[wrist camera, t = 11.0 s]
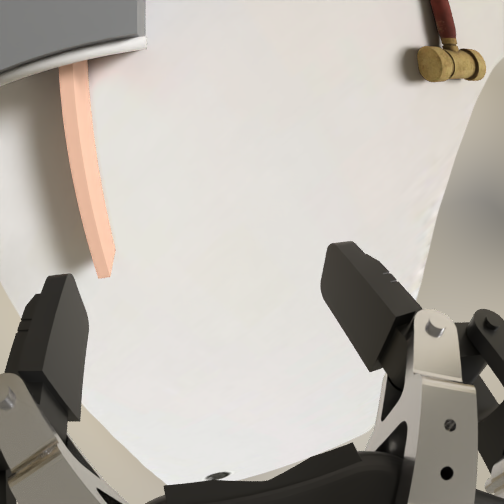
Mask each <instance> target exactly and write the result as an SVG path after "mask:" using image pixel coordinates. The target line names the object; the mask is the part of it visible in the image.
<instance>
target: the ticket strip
mask: <svg viewBox="0 0 504 504" xmlns="http://www.w3.org/2000/svg"><path fill="white" fill-rule="evenodd" d="M59 82H60V94H61V105H62V114H63V122H64V130H65V137H66V144H67V150H68V156H69V162H70V167H71V173H72V178H73V183H74V188H75V193H76V197H77V202H78V206H79V210H80V215H81V219H82V223H83V227H84V230H85V234H86V238H87V242H88V245H89V249H90V252H91V256H92V259H93V262H94V266H95V269H96V272H97V275H98V279H99V278H106V277H110V275H111V270H112V265H113V260H114V255H115V251H116V250H115V245H114V241H113V237H112V233H111V228H110V224H109V219H108V215H107V210H106V205H105V200H104V195H103V190H102V184H101V179H100V173H99V167H98V161H97V154H96V147H95V140H94V132H93V124H92V115H91V105H90V94H89V80H88V62H87V60H84V61H80V62H76V63H72V64H68V65H64V66H60V67H59Z"/></svg>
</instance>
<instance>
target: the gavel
mask: <svg viewBox="0 0 504 504" xmlns="http://www.w3.org/2000/svg"><path fill="white" fill-rule="evenodd" d="M430 2H431V6H432V10H433V13H434V17H435V21H436V26H437V30H438V32H439V35H440V37H441V41H442V44H443V46H442V47H443V49H441V48H440V47H433V46H424V47H422V48H421V49H419V51H418V54H417V59H418V66H419V71H420V73H421V75H422V76H423V77H424V78H425V79H426V80H428V81H430V82H441V81H446V80H447V79H460V78H464V79H465V80H468V81H478V80H481V79H482V78H483V77H484V75H485V73H486V65H485V61H484V59H483V57H482V56H481V55H480V54H479V53H478V52H477V51H475V50H472V49H460V50H458V46H456V44H457V41H456V30H455V25H454V21H453V17H452V13H451V9H450V5H449V2H448V0H430Z"/></svg>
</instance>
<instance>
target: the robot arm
mask: <svg viewBox="0 0 504 504" xmlns="http://www.w3.org/2000/svg"><path fill="white" fill-rule="evenodd" d="M321 293H322V296H323V299H324V301H325V302H326V304H327V305H328V307H329V308H330V310H331V311H332V313H333V315H334V316H335V318H336V319H337V321H338V322H339V324H340V325H341V327H342V329H343V330H344V332H345V333H346V335H347V337H348V338H349V340H350V341H351V343H352V344H353V346H354V348H355V349H356V351H357V352H358V354H359V356H360V357H361V359H362V360H363V362H364V364H365V365H366V367H367V369H368V370H369V372H372V371H375V370H378V369H381V368H384V370H385V372H386V373H385V375H384V377H383V381H382V388H381V394H380V400H379V406H378V412H377V417H376V422H375V427H374V430H373V432H372V435H371V437H370V439H369V441H368V443H367V446H366V449H365V451H357V450H356V448H355V446H354V444H353V443H350V444H347V445H345V446H342V447H339V448H336V449H334V450H331V451H328V452H325V453H322V454H319V455H316V456H312V457H310V458H308V459H307V460H305V461H303V462H302V463H300V464H298V465H297V466H295V467H293V468H291V469H289V470H288V471H286V472H284V473H282V474H280V475H278V476H276V477H274V478H273V479H270V480H268V481H253V482H252V481H223V480H209V481H202V482H194V483H186V484H176V485H165V486H164V491H165V495H163V496H161V497H158V498H155V499H153V500H151V501H149V502H147V503H146V504H504V401H503V402H502V403H501V404H500V405H499V404H498V403H497V401H496V400H495V398H494V396H493V395H492V393H491V392H490V390H489V389H488V387H487V386H486V384H485V383H484V382H483V380H482V379H481V377H480V376H479V374H480V373H481V372H482V371H483V369H484V368H485V367H486V365H487V364H488V365H489V366H490V368H491V369H492V371H493V372H494V373H495V375H496V376H497V378H498V379H499V380H500V382H501V383H502V385H503V386H504V320H503V319H502V318H501V317H500V316H499V315H498V314H496V313H494V312H492V311H490V310H487V309H480V310H477V311H476V312H475V314H474V315H473V317H472V319H471V321H470V322H469V323H454V322H453V321H452V320H451V318H449V317H448V316H447V315H446V314H444V313H442V312H440V311H438V310H435V309H422V308H421V307H420V305H419V304H418V303H417V302H416V301H415V300H414V298H413V297H412V296H411V295H410V294H409V293H408V292H407V291H406V290H405V288H404V287H403V286H402V285H401V284H400V283H399V282H397V281H396V279H395V277H394V276H393V275H392V274H389V271H388V270H387V269H386V268H385V267H384V266H383V265H382V264H381V263H380V262H379V261H378V260H376V259H374V258H373V257H371V256H369V255H368V254H365V253H364V252H363V251H362V250H361V249H360V248H359V247H358V246H357V245H356V244H355V243H354V242H352V241H348V242H340V243H332V244H330V245H329V246H328V248H327V252H326V258H325V263H324V268H323V273H322V278H321ZM88 333H89V322H88V316H87V312H86V310H85V307H84V304H83V302H82V299H81V296H80V294H79V291H78V288H77V285H76V282H75V279H74V277H73V275H72V274H61V275H53V276H48V277H47V279H46V281H45V284H44V286H43V289H42V292H41V294H35V296H34V297H33V298H32V299H31V300H30V302H29V303H28V304H27V305H26V307H25V310H24V313H23V315H22V318H21V322H20V324H19V327H18V333H16V336H15V339H14V342H13V345H12V348H11V352H10V355H9V358H8V362H7V366H6V369H5V373H3V374H0V504H16V500H17V502H18V503H19V504H129V503H128V502H127V501H126V500H125V499H124V498H123V497H122V496H121V495H119V493H118V492H116V491H115V490H114V489H113V488H112V487H111V486H110V485H109V484H108V483H107V482H106V481H105V480H104V479H103V478H102V476H101V475H100V474H99V473H98V472H97V470H96V469H95V468H94V467H93V466H92V465H91V463H90V462H89V461H88V459H87V458H86V457H85V456H84V454H83V453H82V452H81V450H80V449H79V448H78V447H77V445H76V444H75V442H73V440H72V438H71V437H70V436H69V434H68V433H67V421H80V414H81V398H82V385H83V374H84V364H85V356H86V348H87V340H88ZM478 451H479V453H480V454H481V456H482V458H483V460H484V462H485V464H486V466H487V468H488V469H489V471H490V473H491V477H490V478H489V479H488V480H487V481H486V483H485V489H486V491H487V492H488V493H486V492H483V491H480V490H477V489H476V477H477V459H478ZM489 493H495V494H494V495H492V494H489Z"/></svg>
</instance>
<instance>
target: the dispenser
mask: <svg viewBox="0 0 504 504" xmlns="http://www.w3.org/2000/svg"><path fill="white" fill-rule="evenodd" d="M144 49H147V37H146V36H145V0H0V86H3V85H6V84H8V83H11V82H14V81H16V80H19V79H22V78H25V77H28V76H31V75H34V74H37V73H40V72H43V71H47V70H50V69H53V68H57V67H60V66H64V65H68V64H72V63H76V62H80V61H84V60H88V59H93V58H98V57H102V56H107V55H113V54H118V53H124V52H130V51H137V50H144Z"/></svg>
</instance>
